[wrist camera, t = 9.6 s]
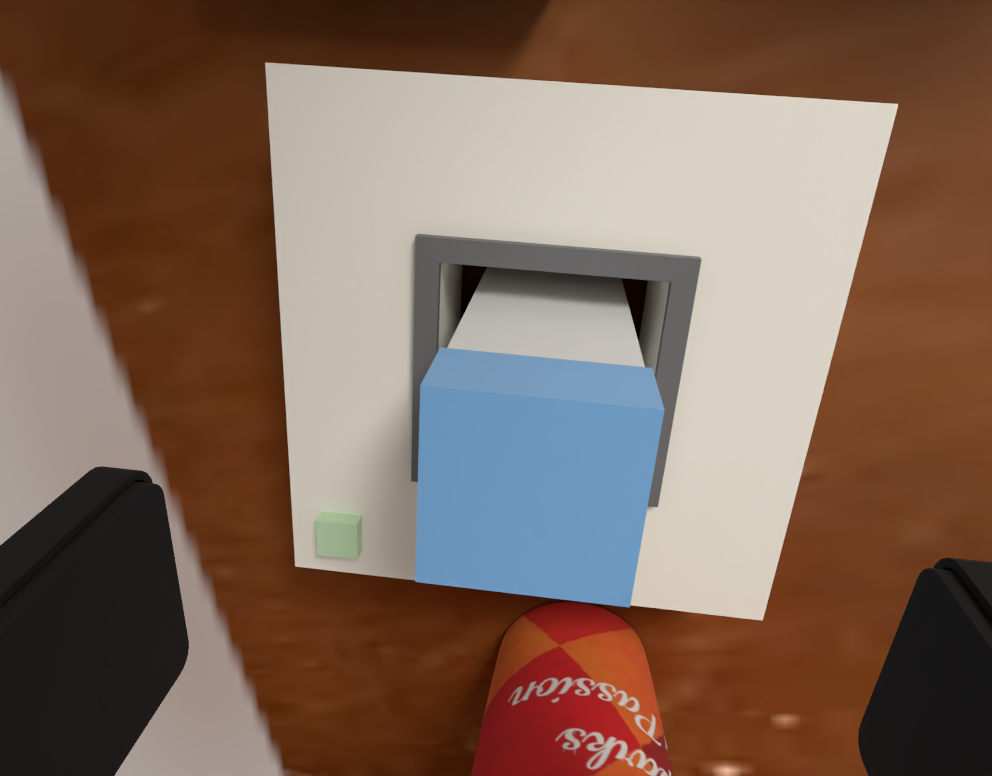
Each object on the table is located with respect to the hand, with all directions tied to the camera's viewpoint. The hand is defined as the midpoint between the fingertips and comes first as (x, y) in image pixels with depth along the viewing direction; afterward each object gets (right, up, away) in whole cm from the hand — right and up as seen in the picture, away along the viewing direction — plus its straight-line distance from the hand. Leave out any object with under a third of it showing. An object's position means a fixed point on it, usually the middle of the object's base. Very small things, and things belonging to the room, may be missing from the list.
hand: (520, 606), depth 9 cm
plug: (+1, +4, +13) cm, 14 cm away
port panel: (+1, +5, +13) cm, 14 cm away
